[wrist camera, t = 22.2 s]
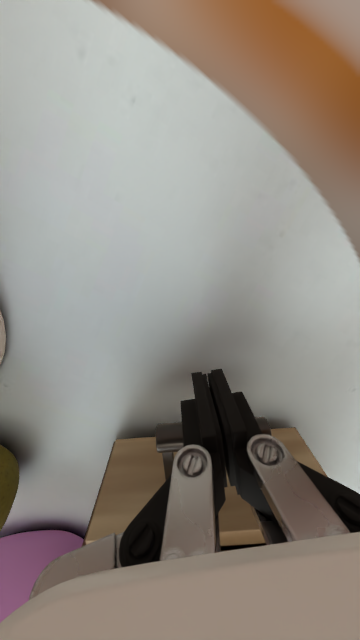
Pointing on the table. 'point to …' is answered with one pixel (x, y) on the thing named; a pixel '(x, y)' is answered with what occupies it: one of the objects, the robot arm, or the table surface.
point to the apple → (7, 483)
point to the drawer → (156, 467)
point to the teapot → (28, 563)
